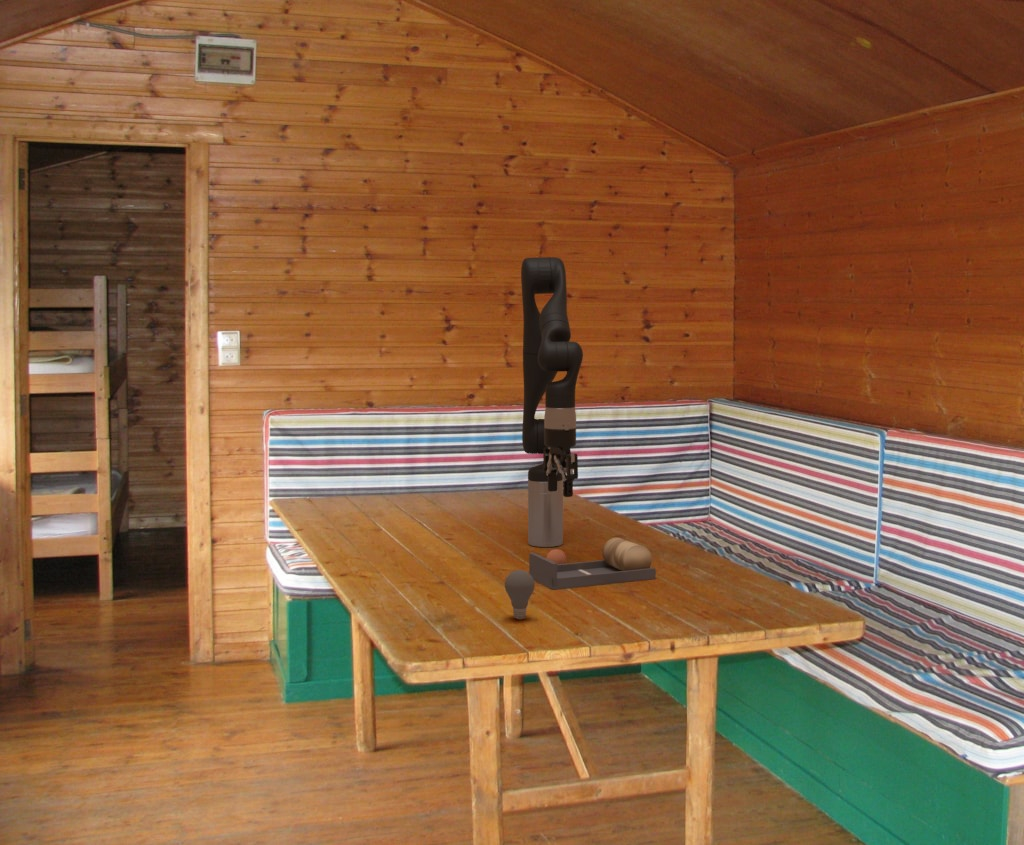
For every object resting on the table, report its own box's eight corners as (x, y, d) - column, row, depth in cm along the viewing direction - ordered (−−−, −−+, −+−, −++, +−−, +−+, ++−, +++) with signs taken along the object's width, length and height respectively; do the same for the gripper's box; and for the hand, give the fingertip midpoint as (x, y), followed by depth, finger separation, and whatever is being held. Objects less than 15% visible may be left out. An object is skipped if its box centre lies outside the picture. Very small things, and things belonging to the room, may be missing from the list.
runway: (529, 577, 271) (529, 552, 270) (628, 567, 281) (628, 543, 281) (553, 589, 259) (553, 564, 259) (655, 578, 269) (655, 553, 269)
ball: (543, 567, 281) (543, 548, 281) (561, 566, 283) (561, 546, 282) (551, 571, 277) (551, 552, 276) (569, 570, 279) (569, 550, 278)
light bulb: (533, 614, 238) (533, 566, 237) (535, 622, 232) (535, 573, 231) (504, 615, 238) (504, 567, 237) (505, 623, 232) (505, 573, 231)
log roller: (602, 567, 277) (602, 538, 277) (628, 565, 280) (628, 536, 279) (624, 577, 267) (625, 547, 266) (651, 574, 270) (651, 544, 269)
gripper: (533, 423, 281) (533, 490, 283) (558, 429, 268) (558, 499, 270) (561, 422, 284) (561, 488, 286) (588, 428, 271) (587, 497, 273)
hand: (560, 493), depth 278 cm, fingers open, 8 cm apart
